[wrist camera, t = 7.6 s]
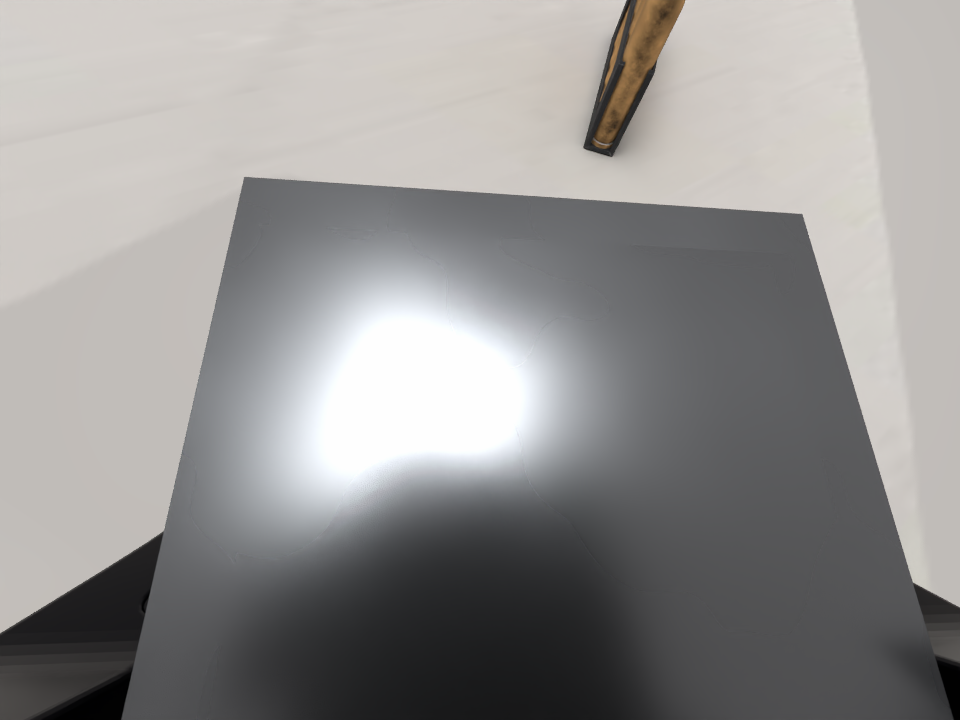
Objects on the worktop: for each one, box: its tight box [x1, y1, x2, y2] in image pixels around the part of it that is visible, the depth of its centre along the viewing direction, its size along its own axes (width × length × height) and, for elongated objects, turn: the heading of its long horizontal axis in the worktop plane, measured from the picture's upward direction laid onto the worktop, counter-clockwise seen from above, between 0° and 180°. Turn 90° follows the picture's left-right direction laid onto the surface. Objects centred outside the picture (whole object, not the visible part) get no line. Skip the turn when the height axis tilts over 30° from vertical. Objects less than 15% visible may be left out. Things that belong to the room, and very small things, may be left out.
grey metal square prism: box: [121, 177, 954, 720], centre depth 9 cm, size 6×6×12 cm
